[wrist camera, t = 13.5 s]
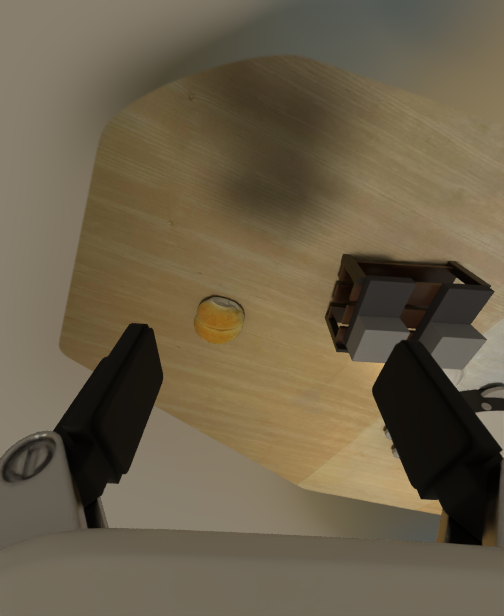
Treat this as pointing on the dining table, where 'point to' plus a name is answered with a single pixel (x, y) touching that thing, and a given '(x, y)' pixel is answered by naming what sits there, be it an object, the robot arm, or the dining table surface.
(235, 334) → the bread roll
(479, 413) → the tambourine
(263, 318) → the dining table surface
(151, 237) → the dining table surface
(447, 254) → the dining table surface
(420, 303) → the rack
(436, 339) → the grey block
